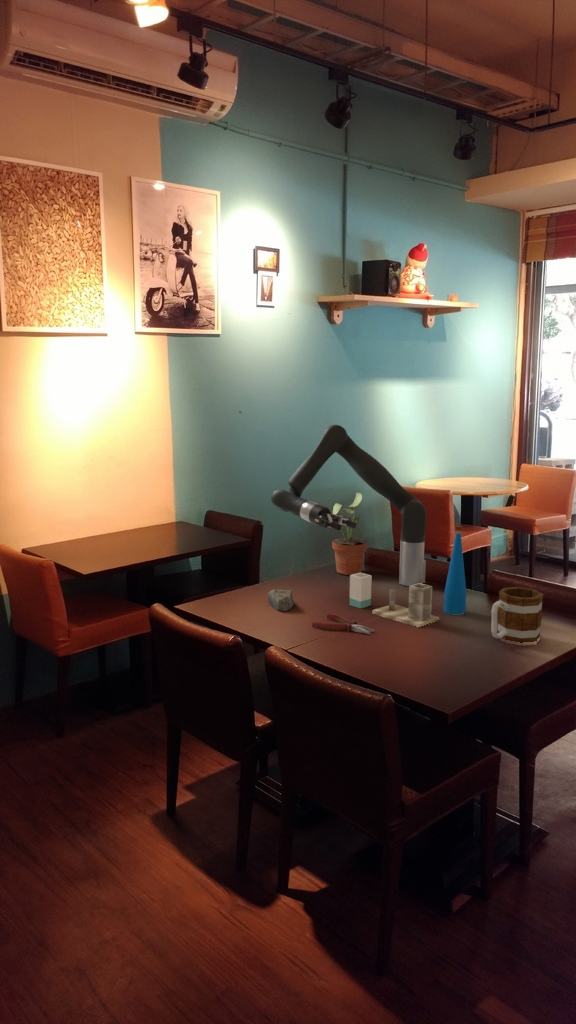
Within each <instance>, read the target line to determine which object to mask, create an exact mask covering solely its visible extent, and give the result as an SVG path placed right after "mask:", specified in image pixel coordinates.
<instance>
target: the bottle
mask: <svg viewBox="0 0 576 1024" xmlns="http://www.w3.org/2000/svg"><path fill="white" fill-rule="evenodd" d="M462 528H463V526H462V525H455V531H462ZM454 537H455V538H454V541H453V546H452V552H451V556H450V562H449V566H448V571H447V577H446V582H445V587H444V598H443V612H444V611H445V612H446V613H450V614H462V613H465V614H466V610H467V609H466V608H467V607H466V605H467V586H466V576H465V575H466V574H465V564H464V553H463V543H462V541H463V540H462V533H461V532H456V533H455V536H454ZM446 613H445V614H446Z"/></svg>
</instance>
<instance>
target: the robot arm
mask: <svg viewBox="0 0 576 1024" xmlns="http://www.w3.org/2000/svg"><path fill="white" fill-rule="evenodd" d="M335 453H337V454H338V455H339V456H340V457H342V459H344V461H346V462H347V463H348V465H349V466H350V467H351V468H352V469H353V471H354V472H355V473H356V474H357V475H358V476H359V477H360V479H361V480H362V481H363V482H365V484H366V485H368V486H369V487H370V488H371V489H372V490H373V491H375V492H376V493H378V494H379V495H381V496H382V497H384V499H385V498H386V499H387V500H388V501H389V502H390V503H391V504H392V505H393V506H394V507H395V509H397V510H398V512H399V513H400V514H401V532H400V548H399V549H400V550H399V571H398V573H399V575H398V576H399V577H398V583H399V585H402V586H406V587H409V586H411V585H414V584H418V583H421V584H423V583H425V584H426V567H427V564H426V563H427V561H426V559H425V538H426V534H427V533H426V530H427V508H426V506H425V505H424V504H423V502H422V501H420V499H418V498H417V497H415V496H414V495H412V493H410V492H408V491H407V489H405V488H404V487H403V486H402V485H401V484H400V483H399V482H398V480H396V478H395V477H394V476H393V474H392V473H390V471H389V470H388V469H387V468H386V467H384V465H382V463H381V462H380V461H378V460H377V459H376V458H374V457H373V456H372V455H370V454H369V453H368V452H367V451H365V450H364V449H362V448H361V447H360V446H359V445H357V444H356V443H355V441H354V440H353V439H352V438H351V437H350V435H349V434H348V432H347V430H346V429H345V427H343V426H342V425H340V424H332V425H329V426H327V427H325V428H324V431H323V433H322V437H321V439H320V440H319V443H318V444H317V446H316V447H315V448H314V450H313V451H312V452H311V454H310V455H309V456H307V458H305V460H303V462H302V463H301V464H300V465H299V466H298V468H296V470H295V471H294V472H293V473H292V475H291V476H290V478H289V479H288V480H287V481H288V482H287V484H288V486H289V489H288V491H287V490H285V489H281V488H280V489H276V490H274V491H273V492H272V494H271V495H270V500H271V504H272V505H273V506H274V507H276V508H278V509H279V510H281V511H282V512H284V513H289V512H290V513H291V514H292V515H294V516H296V517H298V518H301V519H302V520H305V521H307V522H308V523H312V524H314V525H317V526H319V527H321V528H325V529H326V528H327V529H329V528H330V529H333V528H334V529H333V530H336V531H341V529H342V528H343V527H342V525H343V526H345V525H346V526H347V528H348V527H350V529H351V528H352V530H353V529H354V530H355V529H356V527H357V524H356V523H355V522H353V520H352V518H351V517H346V516H347V515H344V514H342V513H337V514H333V512H332V513H331V511H330V508H329V507H327V506H324V505H322V504H319V503H318V502H314V501H311V500H308V499H305V498H303V497H301V496H302V494H303V492H304V490H305V489H306V488H307V487H308V485H309V484H310V483H311V482H312V480H313V479H314V477H316V475H317V474H318V472H319V471H320V470H321V469H322V467H323V466H324V464H325V463H326V462H327V461H328V460H329V459H330V458H331V457H332V456H333V455H334V454H335ZM345 520H346V521H345ZM346 526H345V527H346Z"/></svg>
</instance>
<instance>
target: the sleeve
mask: <svg viewBox="0 0 576 1024" xmlns="http://www.w3.org/2000/svg"><path fill="white" fill-rule="evenodd" d="M372 578H373V577H372V575H370V574H368V573H363V572H361V573H356V574H352V575H349V599H348V600H349V602H348V603H349V604H348V605H349V606H351V607H355V608H359V609H363V608H367V607H370V606H371V604H372V580H373V579H372Z"/></svg>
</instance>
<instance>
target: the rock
mask: <svg viewBox="0 0 576 1024" xmlns="http://www.w3.org/2000/svg"><path fill="white" fill-rule="evenodd" d="M267 599H268V602H269V604H270V605H271V606H272V608H273V607H274V608H275V610H276V611H281V612H282V611H284V612H287V611H288V610H289V611H290V610H292V609H293V606H294V604H295V600H294V596H293V590H292V589H286V590H285V589H279V588H274V589H271V590H270V591H268V593H267ZM274 608H273V609H274Z"/></svg>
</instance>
